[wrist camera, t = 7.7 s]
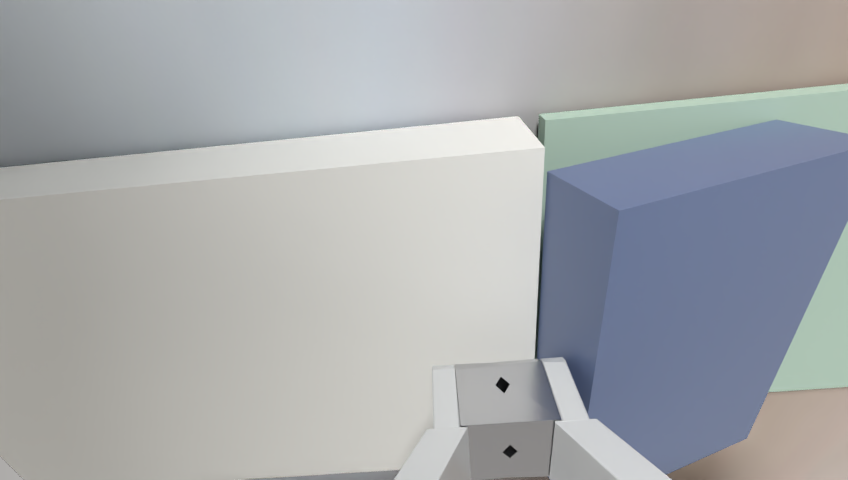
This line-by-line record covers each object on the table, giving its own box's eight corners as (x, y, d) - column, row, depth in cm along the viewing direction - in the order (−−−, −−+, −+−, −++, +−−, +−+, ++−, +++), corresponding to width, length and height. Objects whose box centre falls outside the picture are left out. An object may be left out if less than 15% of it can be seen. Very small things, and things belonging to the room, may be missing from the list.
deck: (-102, 177, 11) (-235, 222, 9) (518, 116, 10) (544, 147, 8) (89, 424, 16) (36, 492, 14) (513, 395, 15) (529, 461, 13)
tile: (547, 171, 8) (619, 211, 6) (776, 119, 10) (885, 140, 8) (531, 450, 13) (572, 516, 11) (689, 388, 14) (746, 438, 12)
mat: (539, 114, 10) (545, 120, 10) (1158, 52, 9) (1201, 55, 9) (527, 394, 15) (531, 408, 14) (933, 365, 14) (952, 379, 14)
